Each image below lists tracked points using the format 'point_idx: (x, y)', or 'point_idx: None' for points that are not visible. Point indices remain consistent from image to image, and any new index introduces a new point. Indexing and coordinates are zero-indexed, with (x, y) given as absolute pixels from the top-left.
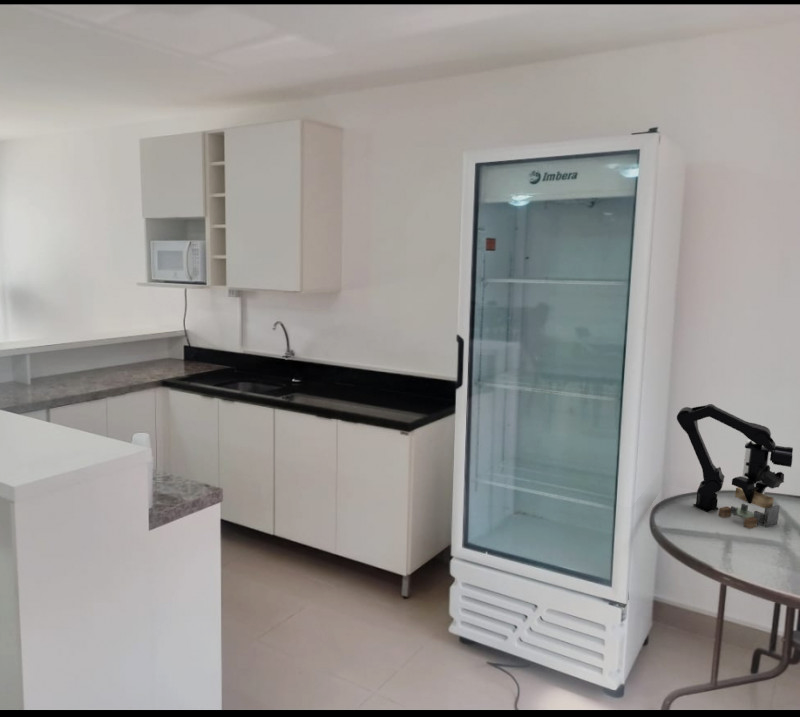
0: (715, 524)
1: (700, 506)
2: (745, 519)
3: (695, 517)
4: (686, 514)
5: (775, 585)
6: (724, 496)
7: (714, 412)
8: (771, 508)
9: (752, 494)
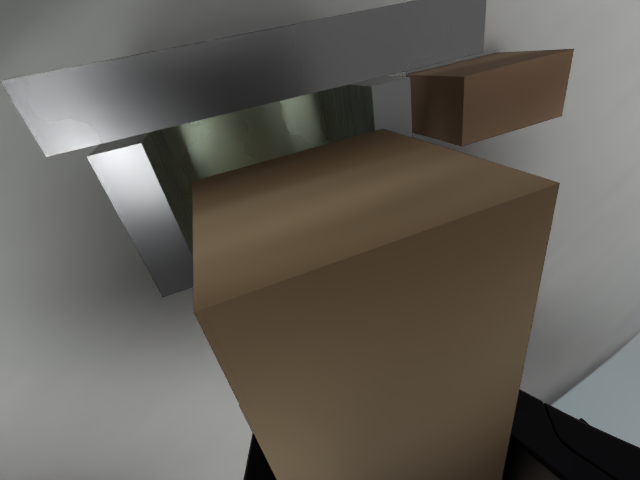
0: (597, 182)
1: None
2: (558, 105)
3: (588, 277)
4: (586, 309)
5: None
6: None
7: None
8: (387, 7)
9: (571, 438)
